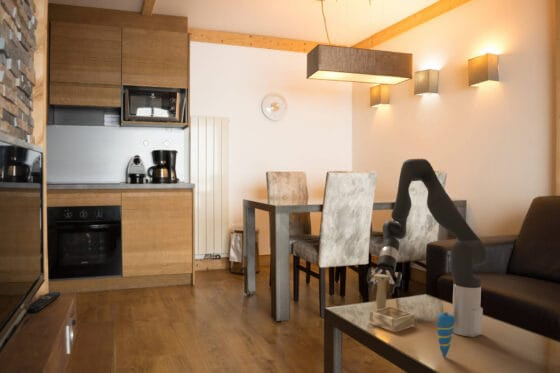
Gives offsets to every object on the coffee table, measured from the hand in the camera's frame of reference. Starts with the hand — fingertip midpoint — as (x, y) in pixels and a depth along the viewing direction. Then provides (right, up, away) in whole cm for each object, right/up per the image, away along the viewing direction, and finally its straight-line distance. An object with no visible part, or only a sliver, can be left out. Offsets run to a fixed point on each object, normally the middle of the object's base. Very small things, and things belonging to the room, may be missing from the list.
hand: (380, 292), depth 188 cm
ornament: (+10, -10, -45) cm, 47 cm away
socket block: (+1, -9, -15) cm, 17 cm away
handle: (0, -8, +2) cm, 9 cm away
